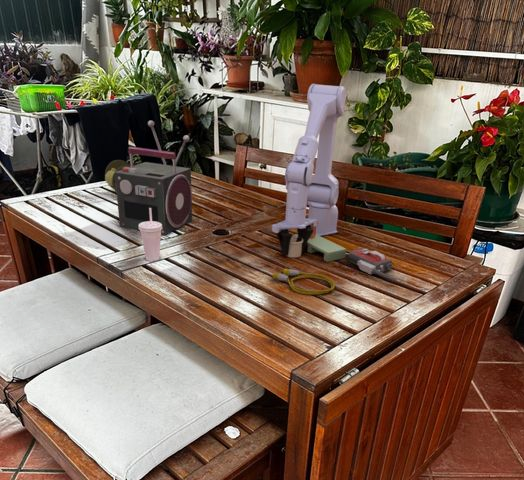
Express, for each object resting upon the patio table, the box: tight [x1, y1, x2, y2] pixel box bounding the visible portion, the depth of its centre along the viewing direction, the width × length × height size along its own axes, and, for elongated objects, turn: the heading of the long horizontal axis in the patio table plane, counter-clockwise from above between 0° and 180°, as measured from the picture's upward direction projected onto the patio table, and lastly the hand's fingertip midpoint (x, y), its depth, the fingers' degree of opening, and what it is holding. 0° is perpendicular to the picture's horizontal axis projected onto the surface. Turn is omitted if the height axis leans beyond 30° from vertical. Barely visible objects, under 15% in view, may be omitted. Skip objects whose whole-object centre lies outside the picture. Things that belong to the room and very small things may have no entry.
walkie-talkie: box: [344, 247, 397, 282], centre depth 143 cm, size 9×4×20 cm
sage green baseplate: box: [292, 233, 347, 263], centre depth 155 cm, size 7×17×3 cm, turn 34°
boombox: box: [114, 120, 193, 236], centre depth 163 cm, size 18×21×30 cm
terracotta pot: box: [309, 221, 318, 239], centre depth 157 cm, size 6×6×5 cm
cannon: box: [104, 159, 131, 192], centre depth 199 cm, size 25×12×11 cm, turn 119°
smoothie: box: [138, 208, 162, 262], centre depth 141 cm, size 6×6×14 cm
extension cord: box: [272, 267, 336, 296], centre depth 134 cm, size 12×16×2 cm
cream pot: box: [286, 235, 303, 258], centre depth 151 cm, size 6×6×5 cm
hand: (292, 252), depth 152 cm, fingers closed on cream pot, 5 cm apart
